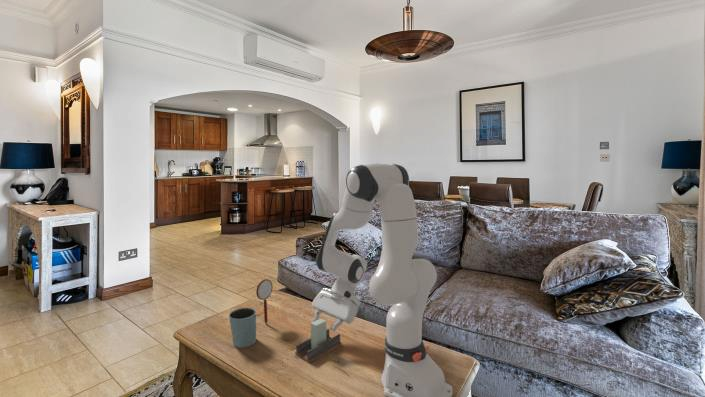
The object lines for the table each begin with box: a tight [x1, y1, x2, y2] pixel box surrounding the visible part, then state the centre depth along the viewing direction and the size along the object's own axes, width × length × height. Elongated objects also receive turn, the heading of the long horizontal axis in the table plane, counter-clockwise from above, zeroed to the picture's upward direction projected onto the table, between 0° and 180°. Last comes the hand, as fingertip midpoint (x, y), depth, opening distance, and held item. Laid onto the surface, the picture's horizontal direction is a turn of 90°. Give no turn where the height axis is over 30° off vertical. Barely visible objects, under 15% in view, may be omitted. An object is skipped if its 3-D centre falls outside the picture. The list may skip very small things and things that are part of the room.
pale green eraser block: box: [310, 317, 327, 349], centre depth 131 cm, size 3×5×10 cm, turn 137°
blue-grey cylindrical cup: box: [228, 307, 257, 349], centre depth 137 cm, size 10×10×12 cm
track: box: [294, 328, 342, 364], centre depth 131 cm, size 8×16×4 cm, turn 137°
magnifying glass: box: [255, 278, 273, 325], centre depth 150 cm, size 9×2×20 cm, turn 146°
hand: (323, 325), depth 132 cm, fingers open, 8 cm apart
